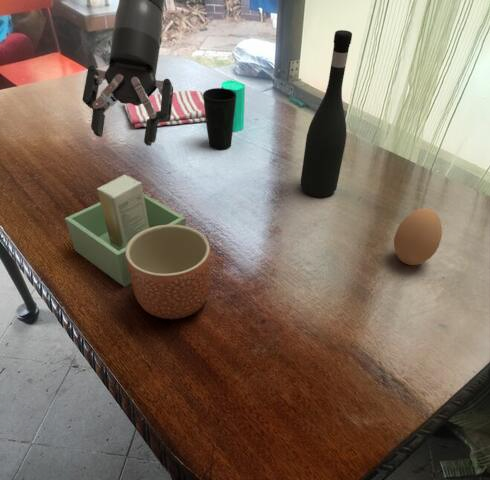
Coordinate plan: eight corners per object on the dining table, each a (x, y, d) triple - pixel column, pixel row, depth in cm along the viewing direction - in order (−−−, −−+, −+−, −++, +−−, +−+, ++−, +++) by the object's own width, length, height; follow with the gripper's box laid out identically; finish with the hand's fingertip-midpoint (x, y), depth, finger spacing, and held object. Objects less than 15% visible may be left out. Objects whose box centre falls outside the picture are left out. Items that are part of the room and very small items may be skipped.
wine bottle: (309, 176, 104) (332, 23, 82) (341, 186, 101) (373, 30, 79) (293, 191, 99) (313, 33, 77) (326, 202, 96) (356, 41, 74)
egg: (389, 272, 81) (407, 220, 73) (386, 246, 86) (402, 195, 78) (432, 277, 80) (455, 225, 73) (426, 251, 86) (447, 200, 78)
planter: (120, 300, 74) (107, 246, 66) (179, 267, 80) (174, 214, 72) (167, 342, 68) (159, 288, 60) (227, 303, 74) (228, 250, 66)
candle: (218, 123, 122) (218, 74, 113) (240, 121, 123) (241, 73, 114) (224, 132, 118) (224, 83, 109) (246, 130, 119) (248, 81, 110)
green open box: (124, 287, 76) (117, 255, 71) (74, 250, 82) (64, 218, 77) (188, 249, 84) (185, 217, 79) (137, 217, 90) (132, 186, 85)
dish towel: (123, 105, 128) (121, 92, 125) (203, 97, 133) (202, 85, 131) (132, 130, 117) (130, 116, 114) (219, 121, 122) (219, 108, 120)
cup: (239, 140, 115) (240, 90, 106) (230, 154, 110) (230, 102, 101) (210, 136, 116) (209, 86, 107) (200, 149, 111) (198, 97, 102)
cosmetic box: (136, 233, 85) (126, 172, 76) (152, 242, 83) (143, 181, 75) (109, 248, 82) (95, 187, 73) (125, 258, 80) (112, 197, 71)
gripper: (85, 17, 70) (71, 125, 72) (175, 33, 70) (159, 140, 72) (102, 42, 78) (89, 139, 80) (183, 56, 77) (168, 153, 79)
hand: (122, 139), depth 76 cm, fingers open, 8 cm apart
